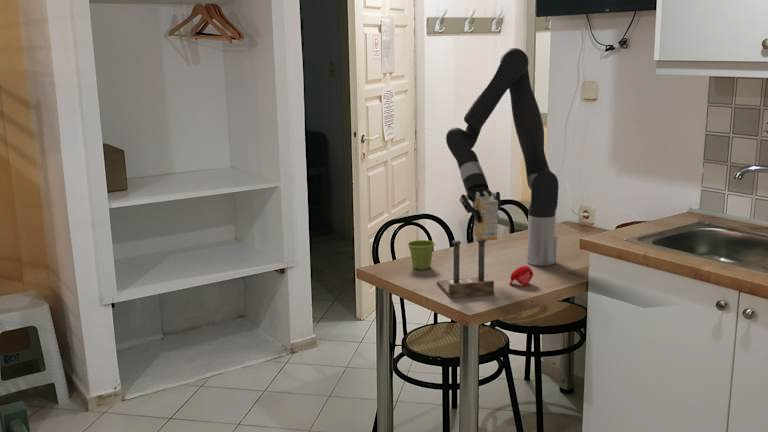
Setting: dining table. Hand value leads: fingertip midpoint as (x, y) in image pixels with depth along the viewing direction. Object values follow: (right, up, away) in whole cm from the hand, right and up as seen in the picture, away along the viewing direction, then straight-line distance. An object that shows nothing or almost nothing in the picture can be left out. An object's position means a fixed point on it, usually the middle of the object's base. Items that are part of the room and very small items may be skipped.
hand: (488, 221), depth 243 cm
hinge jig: (-8, -22, -5) cm, 24 cm away
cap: (+10, -21, -1) cm, 23 cm away
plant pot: (-20, -17, +20) cm, 33 cm away
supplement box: (0, -6, +3) cm, 6 cm away
